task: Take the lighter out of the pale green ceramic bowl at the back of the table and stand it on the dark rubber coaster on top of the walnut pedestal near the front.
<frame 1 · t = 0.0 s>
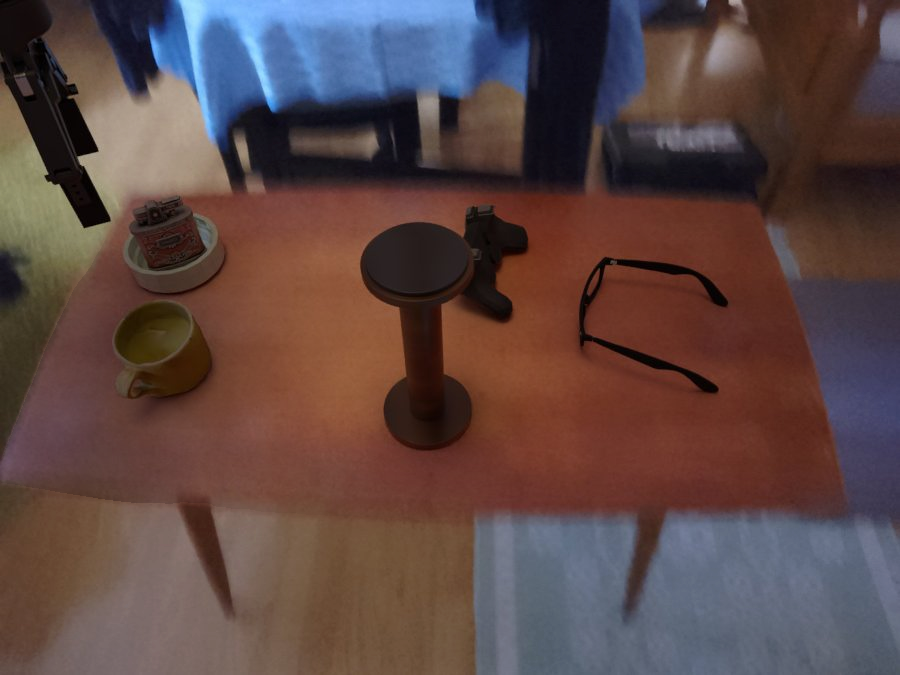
hand: (91, 186, 75), 19 cm above the table, tool pointing down, fingers open, 13 cm apart
mug: (169, 382, 82), on the table
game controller: (489, 277, 92), on the table
bowl: (180, 263, 95), on the table
glasses: (648, 331, 86), on the table
lighter: (179, 261, 94), resting on bowl
stand: (416, 255, 59), on the table
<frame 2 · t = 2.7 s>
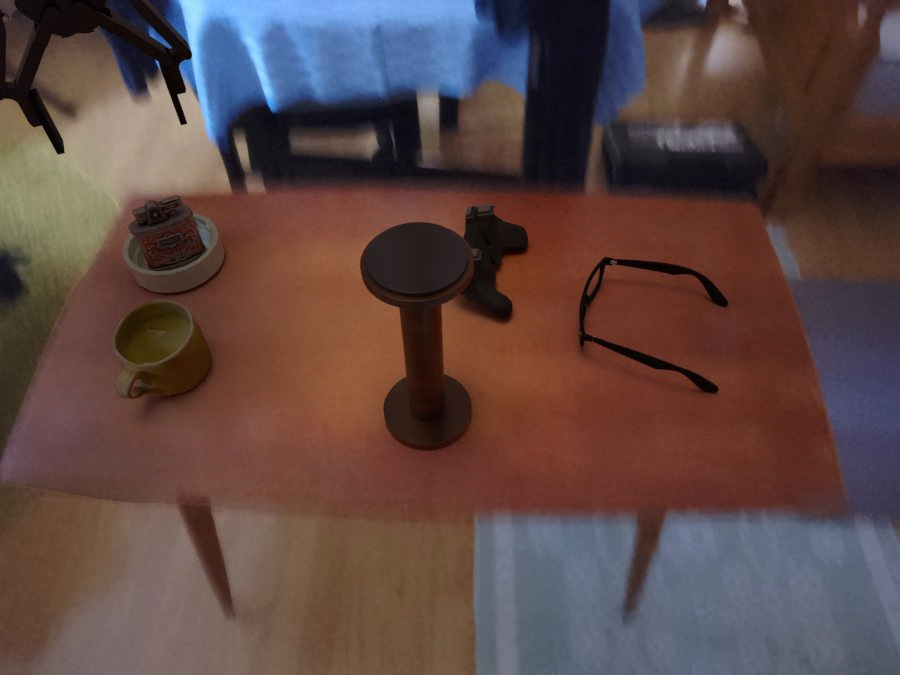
hand: (122, 133, 79), 21 cm above the table, tool pointing down, fingers open, 13 cm apart
nothing on the table moved.
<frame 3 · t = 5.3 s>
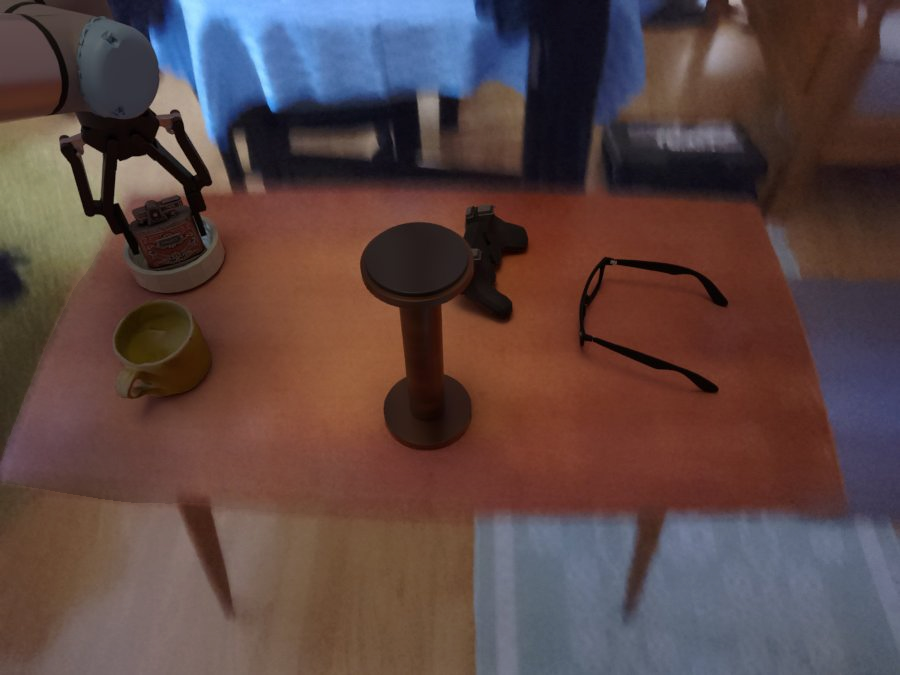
hand: (169, 238, 91), 5 cm above the table, tool pointing down, fingers closed on lighter, 8 cm apart
lighter: (179, 261, 94), resting on bowl, touching gripper
everything else where it was.
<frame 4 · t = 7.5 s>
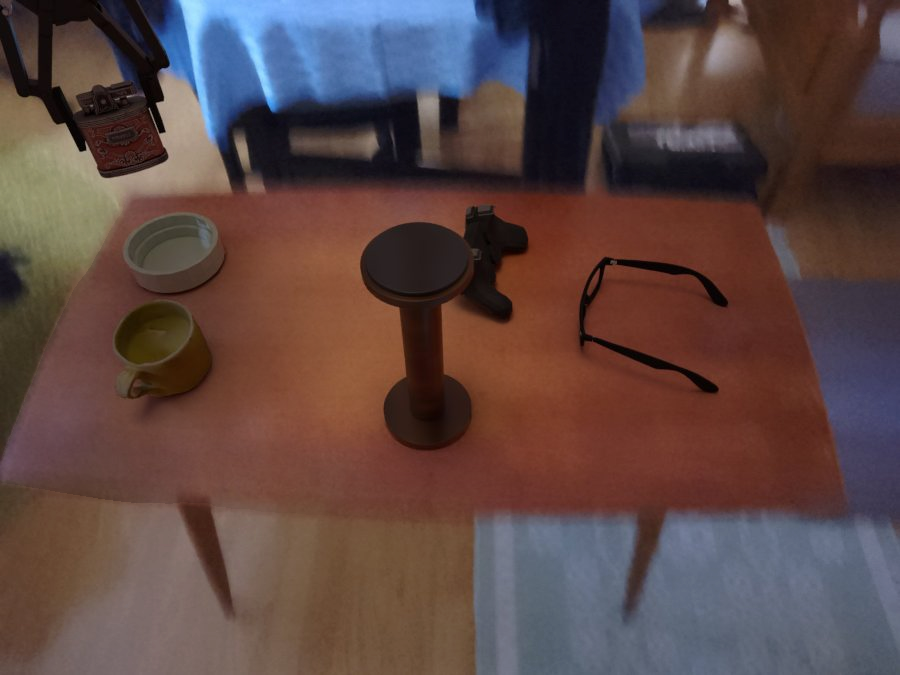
hand: (122, 135, 79), 21 cm above the table, tool pointing down, fingers closed on lighter, 8 cm apart
lighter: (135, 166, 82), point 16 cm above the table, touching gripper
everything else where it was.
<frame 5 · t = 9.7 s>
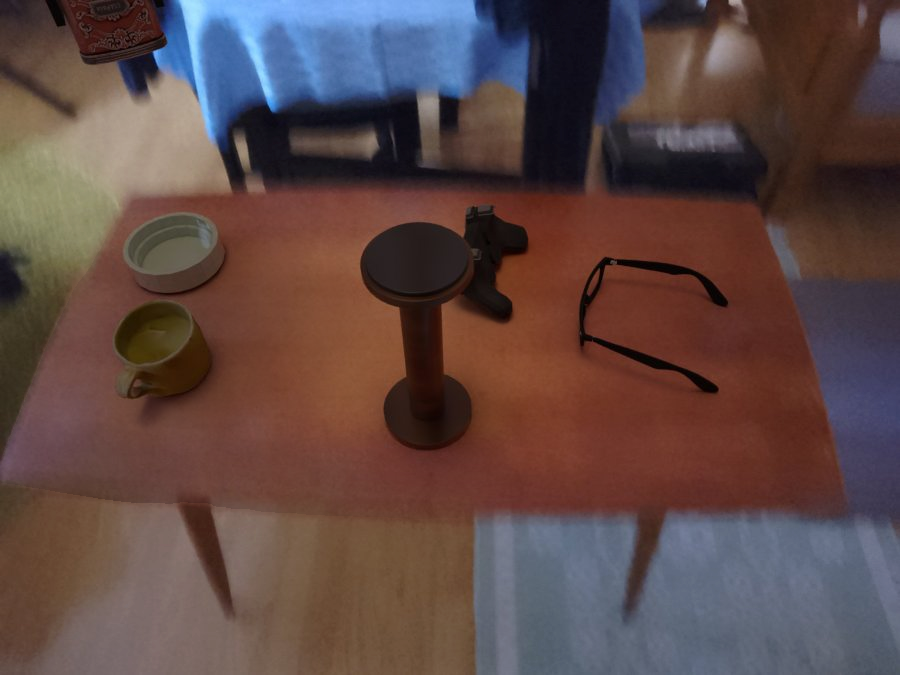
hand: (110, 10, 64), 37 cm above the table, tool pointing down, fingers closed on lighter, 8 cm apart
lighter: (126, 53, 67), point 33 cm above the table, touching gripper
everything else where it was.
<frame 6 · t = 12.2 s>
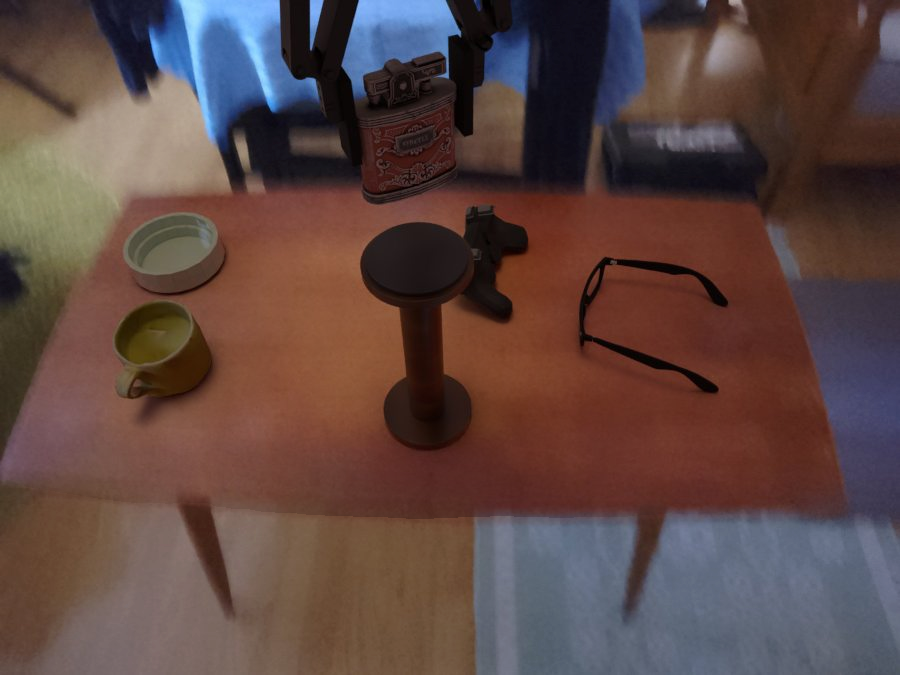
hand: (407, 140, 51), 36 cm above the table, tool pointing down, fingers closed on lighter, 8 cm apart
lighter: (410, 185, 54), point 32 cm above the table, touching gripper
everything else where it was.
when the fingers open (28 cm above the table, at t = 14.3 s): lighter stays where it is, resting on stand.
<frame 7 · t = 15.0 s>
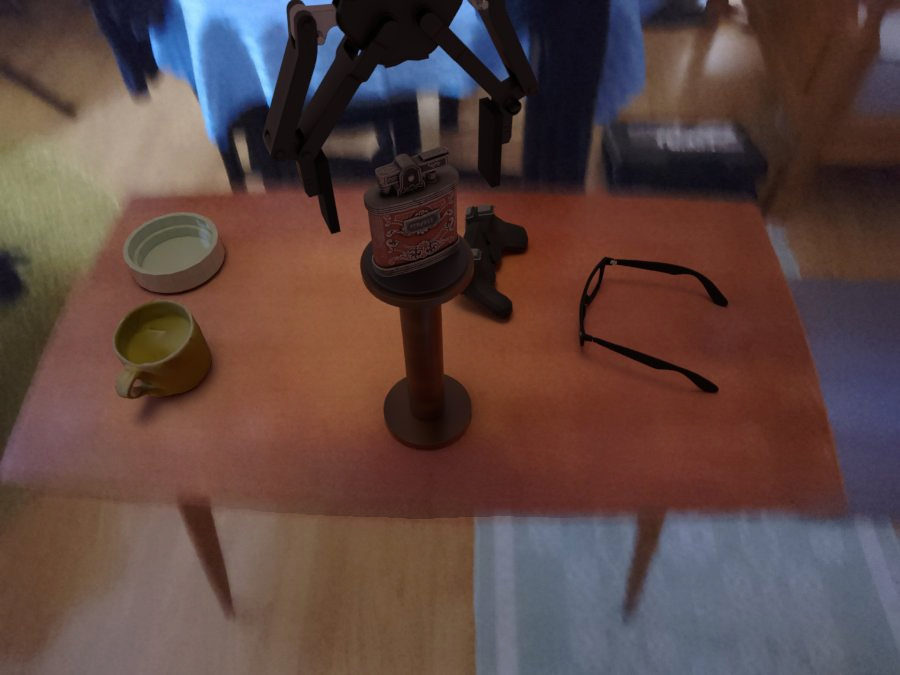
hand: (412, 199, 55), 31 cm above the table, tool pointing down, fingers open, 13 cm apart
lighter: (416, 256, 60), point 24 cm above the table, touching stand
everything else where it was.
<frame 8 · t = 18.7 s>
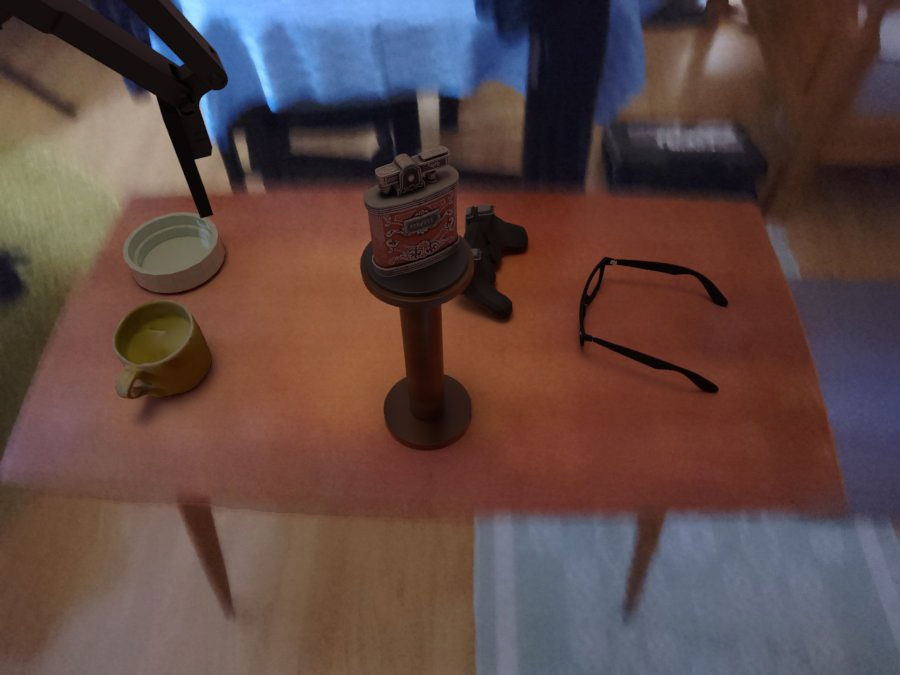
hand: (82, 236, 39), 40 cm above the table, tool pointing down, fingers open, 13 cm apart
nothing on the table moved.
at the end: lighter 0.1 cm off-centre on the stand, point 0.0 cm above the stand's base; lighter tilted 0°; the gripper is holding nothing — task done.
